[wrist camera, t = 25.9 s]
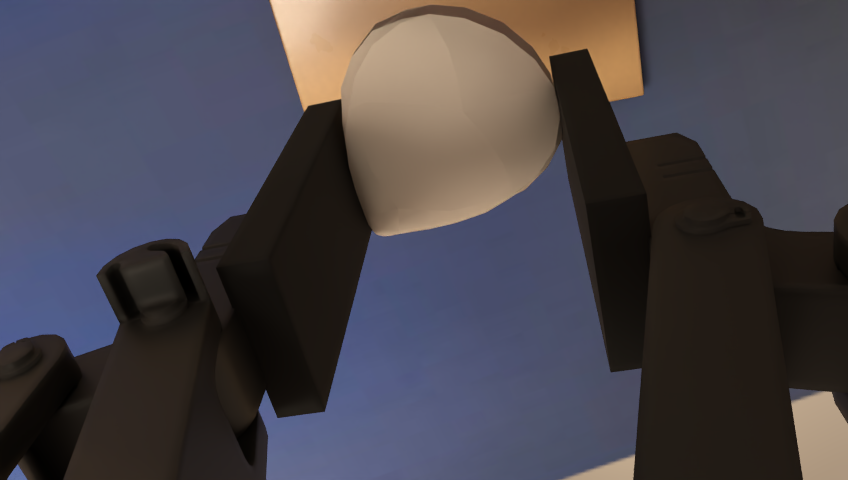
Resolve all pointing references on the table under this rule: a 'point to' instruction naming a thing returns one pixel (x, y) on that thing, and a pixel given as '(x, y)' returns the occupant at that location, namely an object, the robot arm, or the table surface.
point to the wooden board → (509, 3)
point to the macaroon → (444, 118)
